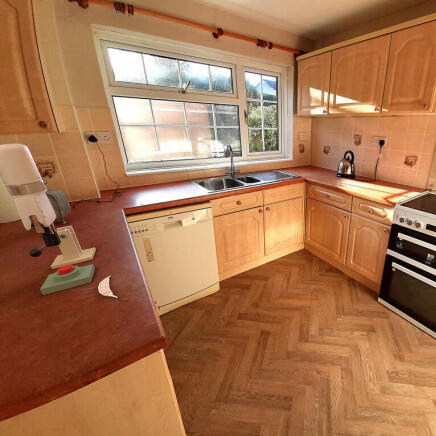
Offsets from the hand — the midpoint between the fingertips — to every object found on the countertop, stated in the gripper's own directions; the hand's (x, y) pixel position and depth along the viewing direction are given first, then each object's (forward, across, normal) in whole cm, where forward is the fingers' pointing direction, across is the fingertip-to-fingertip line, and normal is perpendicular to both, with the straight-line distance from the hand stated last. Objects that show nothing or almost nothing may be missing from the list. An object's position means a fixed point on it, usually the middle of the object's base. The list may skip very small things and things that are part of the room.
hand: (54, 244), depth 77 cm
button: (+10, +1, 0) cm, 10 cm away
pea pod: (+14, +13, +11) cm, 22 cm away
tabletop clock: (+13, -70, -18) cm, 74 cm away
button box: (+13, +1, 0) cm, 14 cm away
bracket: (+13, -17, -2) cm, 22 cm away
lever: (+6, -17, -6) cm, 19 cm away
